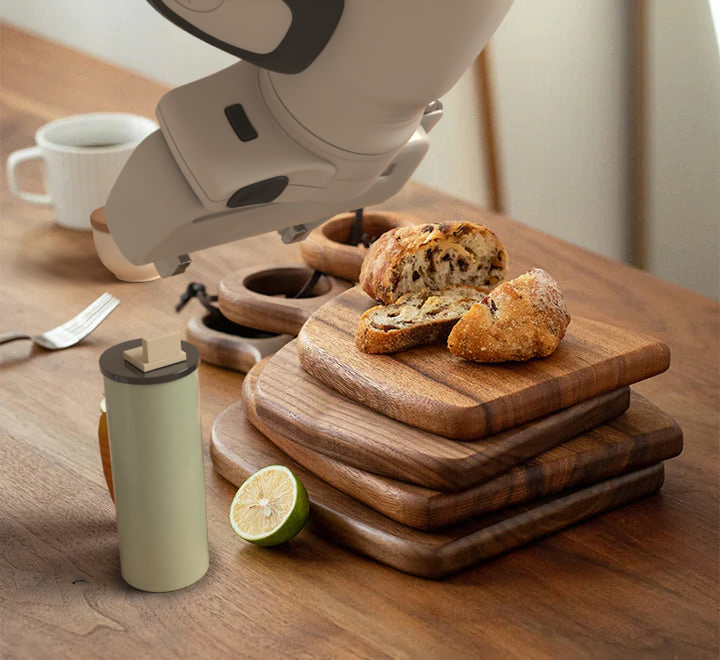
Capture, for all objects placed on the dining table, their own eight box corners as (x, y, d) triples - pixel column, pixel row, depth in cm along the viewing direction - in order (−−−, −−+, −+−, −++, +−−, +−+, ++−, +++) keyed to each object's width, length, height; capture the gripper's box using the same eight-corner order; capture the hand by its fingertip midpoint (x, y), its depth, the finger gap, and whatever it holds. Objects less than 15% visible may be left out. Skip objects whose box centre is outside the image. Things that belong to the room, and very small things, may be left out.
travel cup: (147, 606, 84) (128, 386, 77) (102, 561, 90) (81, 352, 82) (229, 570, 89) (219, 359, 81) (181, 530, 94) (168, 328, 87)
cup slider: (144, 372, 79) (141, 342, 78) (123, 358, 81) (120, 329, 80) (186, 360, 81) (184, 330, 80) (165, 346, 83) (163, 317, 82)
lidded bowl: (166, 292, 148) (161, 214, 144) (80, 285, 150) (73, 208, 146) (197, 262, 159) (193, 190, 155) (117, 256, 162) (111, 185, 157)
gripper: (429, 52, 65) (331, 180, 76) (133, 97, 53) (65, 242, 64) (481, 136, 64) (374, 254, 75) (189, 202, 52) (110, 333, 62)
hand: (229, 249), depth 69 cm, fingers open, 8 cm apart
